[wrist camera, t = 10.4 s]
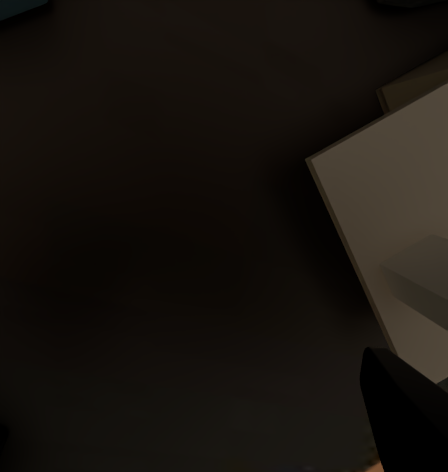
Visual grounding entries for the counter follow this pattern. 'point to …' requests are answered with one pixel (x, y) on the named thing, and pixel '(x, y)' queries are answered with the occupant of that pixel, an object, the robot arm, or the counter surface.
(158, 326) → the counter surface
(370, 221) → the lid
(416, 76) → the carton
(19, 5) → the data package
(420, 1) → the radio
